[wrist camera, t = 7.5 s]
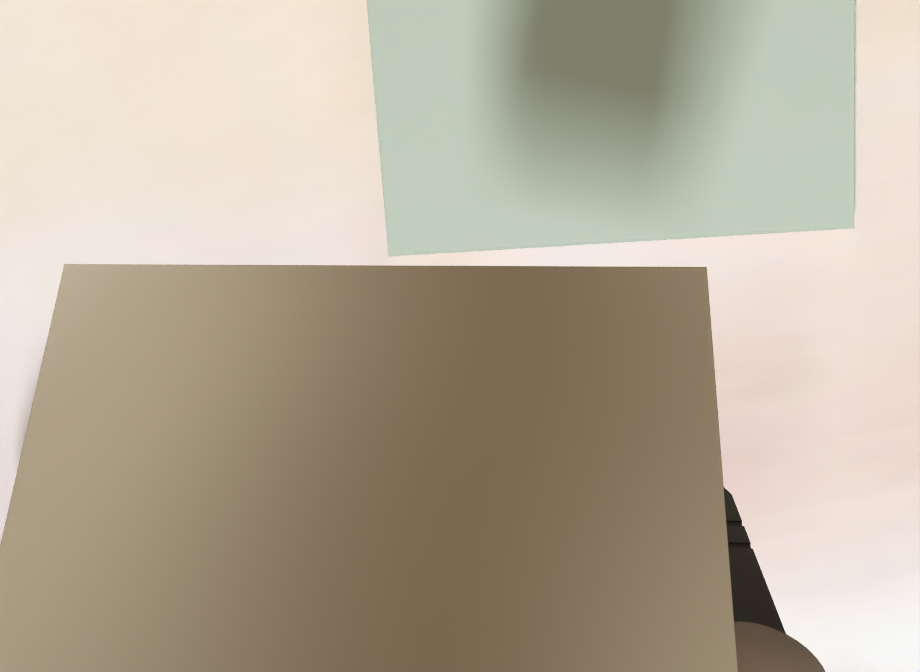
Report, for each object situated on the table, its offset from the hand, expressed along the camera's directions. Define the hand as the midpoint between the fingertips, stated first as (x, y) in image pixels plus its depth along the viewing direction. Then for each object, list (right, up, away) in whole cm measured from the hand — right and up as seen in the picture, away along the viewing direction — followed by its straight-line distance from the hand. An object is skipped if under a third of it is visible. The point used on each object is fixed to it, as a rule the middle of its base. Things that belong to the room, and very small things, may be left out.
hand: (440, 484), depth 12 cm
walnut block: (0, -3, +4) cm, 5 cm away
